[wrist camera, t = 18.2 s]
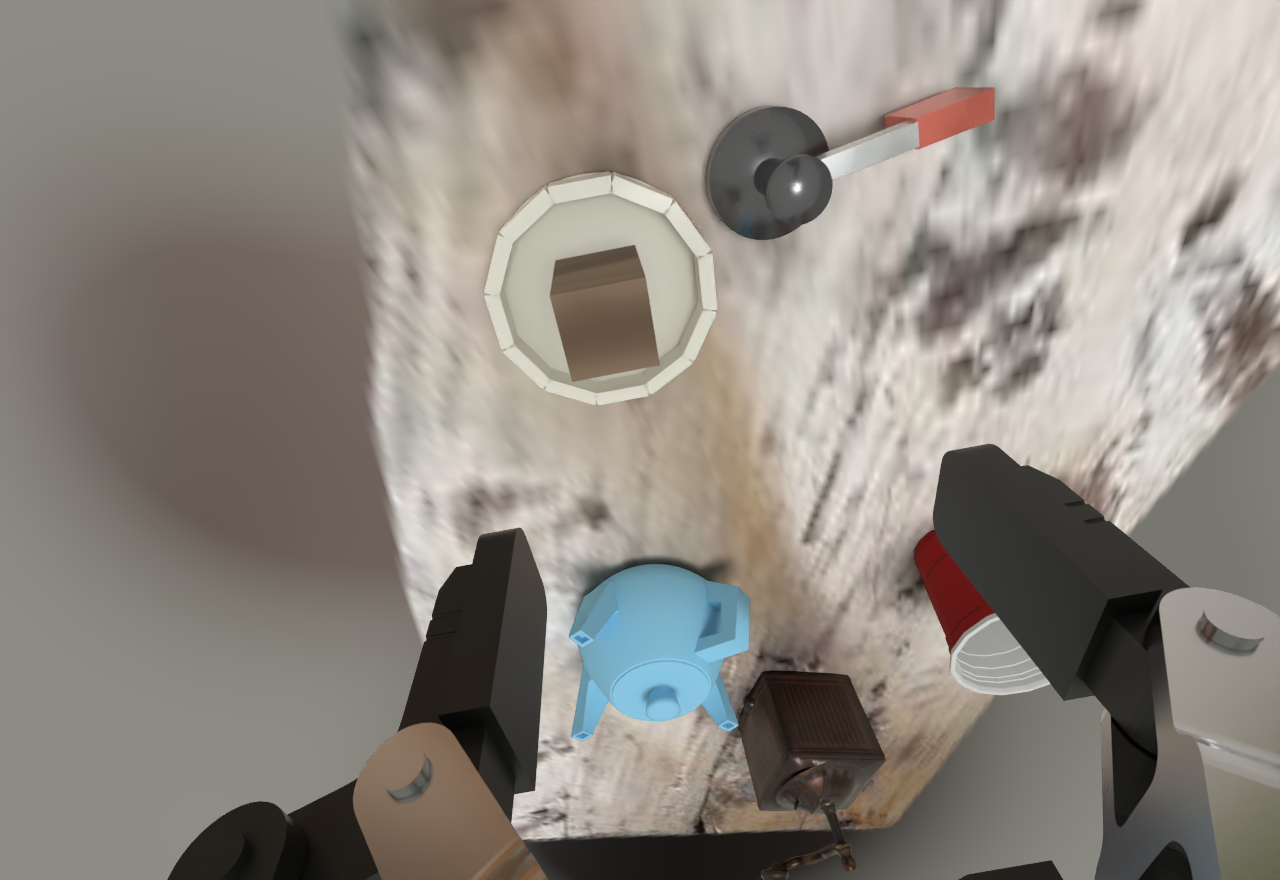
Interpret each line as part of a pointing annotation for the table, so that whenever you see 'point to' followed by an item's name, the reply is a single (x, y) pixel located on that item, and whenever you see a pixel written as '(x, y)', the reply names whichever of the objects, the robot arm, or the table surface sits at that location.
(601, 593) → the teapot
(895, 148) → the crank
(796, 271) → the table surface
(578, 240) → the dish
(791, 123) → the base
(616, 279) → the block
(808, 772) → the coffee grinder
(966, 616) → the plastic cup
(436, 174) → the table surface
